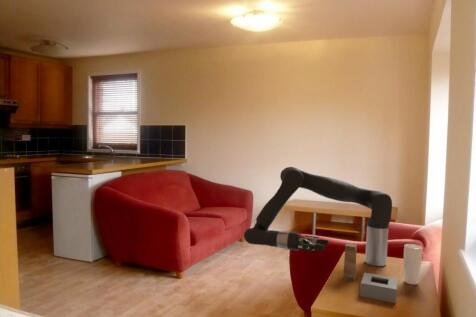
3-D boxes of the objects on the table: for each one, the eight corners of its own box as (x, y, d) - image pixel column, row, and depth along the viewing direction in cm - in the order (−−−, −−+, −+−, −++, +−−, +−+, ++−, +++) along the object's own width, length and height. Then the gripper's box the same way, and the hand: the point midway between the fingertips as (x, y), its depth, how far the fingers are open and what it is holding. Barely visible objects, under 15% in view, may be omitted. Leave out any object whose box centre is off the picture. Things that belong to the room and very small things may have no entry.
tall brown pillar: (345, 276, 160) (346, 243, 159) (355, 278, 158) (356, 244, 157) (343, 279, 156) (345, 245, 156) (353, 281, 155) (355, 247, 154)
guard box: (363, 284, 151) (364, 272, 151) (396, 290, 147) (397, 278, 146) (360, 296, 140) (360, 282, 140) (395, 303, 136) (396, 289, 135)
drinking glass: (419, 287, 151) (421, 249, 150) (400, 283, 154) (402, 246, 153) (421, 281, 157) (423, 245, 156) (403, 278, 160) (405, 242, 159)
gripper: (284, 235, 161) (323, 240, 154) (293, 228, 174) (329, 232, 167) (283, 253, 162) (322, 259, 155) (293, 244, 175) (329, 249, 168)
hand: (326, 245), depth 161 cm, fingers open, 8 cm apart
